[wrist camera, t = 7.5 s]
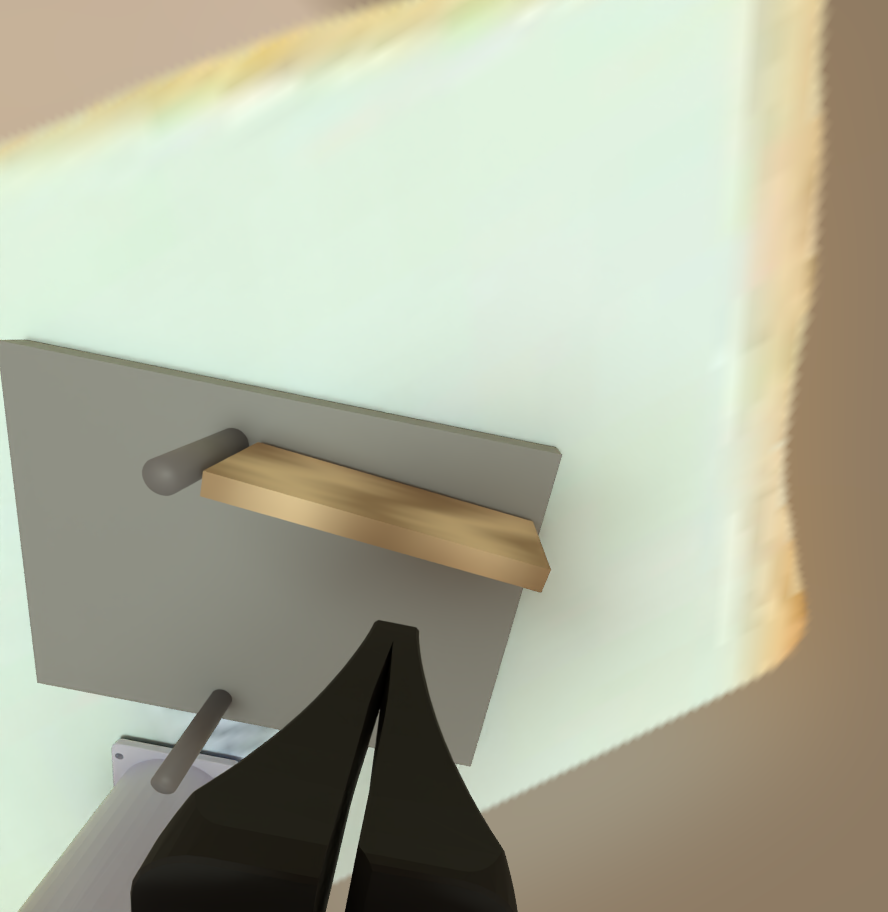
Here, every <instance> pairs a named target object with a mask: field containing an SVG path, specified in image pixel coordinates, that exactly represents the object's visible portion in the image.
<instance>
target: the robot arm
mask: <svg viewBox="0 0 888 912" xmlns="http://www.w3.org/2000/svg"><path fill="white" fill-rule="evenodd" d="M379 710H380V712H379ZM378 714H379V720H378V728H377V735H376V743H375V751H374V759H373V766H372V774H371V782H370V790H369V795H368V800H367V805H366V810H365V815H364V819H363V824H362V829H361V834H360V839H359V843H358V848H357V853H356V858H355V863H354V868H353V873H352V878H351V883H350V889H349V894H348V898H347V903H346V909H345V912H518V911H517V905H516V899H515V894H514V889H513V884H512V879H511V875H510V871H509V867H508V863H507V859H506V856H505V852H504V850H503V848H502V847H501V845H500V844H499V842H498V841H497V839H496V838H495V836H494V834H493V833H492V831H491V830H490V828H489V826H488V825H487V823H486V822H485V820H484V818H483V816H482V815H481V813H480V811H479V809H478V808H477V806H476V804H475V802H474V800H473V799H472V797H471V795H470V793H469V791H468V789H467V787H466V785H465V783H464V781H463V779H462V777H461V775H460V773H459V771H458V769H457V767H456V765H455V763H454V761H453V759H452V756H451V754H450V752H449V749H448V747H447V744H446V742H445V739H444V737H443V734H442V732H441V729H440V726H439V724H438V721H437V718H436V715H435V712H434V708H433V705H432V702H431V698H430V695H429V691H428V687H427V683H426V679H425V674H424V670H423V665H422V659H421V653H420V644H419V630H418V629H417V627H413V626H408V625H403V624H397V623H392V622H387V621H382V620H377V621H375V622H374V624H373V626H372V628H371V629H370V631H369V633H368V634H367V636H366V638H365V639H364V641H363V642H362V644H361V645H360V646H359V648H358V649H357V651H356V652H355V653H354V654H353V656H352V657H351V658H350V660H349V661H348V662H347V663H346V665H345V666H344V667H343V668H342V670H341V671H340V672H339V673H338V674H337V675H336V677H335V678H334V679H333V680H332V681H331V682H330V683H329V684H328V686H327V687H326V688H325V689H324V690H323V691H322V692H321V693H320V694H319V695H318V696H317V697H316V698H315V699H314V700H313V701H312V702H311V703H310V704H309V705H308V706H307V707H306V708H305V709H304V710H303V711H302V712H301V713H300V714H299V715H297V716H296V717H295V718H294V719H293V720H292V721H291V722H289V723H288V724H287V725H286V726H285V727H284V728H283V729H281V730H280V731H279V732H278V733H277V734H275V735H274V736H273V737H272V738H270V739H269V740H268V741H266V742H265V743H264V744H262V745H261V746H260V747H258V748H257V749H256V750H254V751H253V752H252V753H250V754H249V755H248V756H246V757H245V758H244V759H242V760H241V761H240V762H238V761H236V760H231V759H226V758H220V757H215V756H210V755H205V754H200V753H199V755H198V756H197V758H196V759H195V761H194V763H193V764H192V766H191V767H190V769H189V770H188V772H187V774H186V775H185V777H184V778H183V780H182V782H181V783H180V785H179V786H178V788H177V789H176V791H175V792H174V793H172V794H162V793H159V792H157V791H156V790H155V789H154V788H153V787H152V786H151V779H152V777H153V776H154V774H155V773H156V772H157V770H158V769H159V767H160V766H161V764H162V763H163V762H164V760H165V759H166V757H167V756H168V754H169V753H170V752H171V750H172V749H173V748H168V747H163V746H158V745H153V744H148V743H142V742H137V741H132V740H127V739H119V740H117V741H116V742H115V743H114V744H113V746H112V763H113V782H114V788H113V789H112V790H111V792H110V793H109V794H108V795H107V797H106V798H105V799H104V801H103V802H102V803H101V805H100V806H99V807H98V808H97V810H96V811H95V812H94V814H93V815H92V816H91V817H90V819H89V820H88V821H87V823H86V824H85V825H84V827H83V828H82V829H81V830H80V832H79V833H78V834H77V836H76V837H75V838H74V839H73V841H72V842H71V843H70V845H69V846H68V847H67V849H66V850H65V851H64V852H63V854H62V855H61V856H60V858H59V859H58V860H57V861H56V863H55V864H54V865H53V867H52V868H51V869H50V871H49V872H48V873H47V874H46V876H45V877H44V878H43V880H42V881H41V882H40V884H39V885H38V886H37V887H36V889H35V890H34V891H33V893H32V894H31V895H30V896H29V898H28V899H27V900H26V902H25V903H24V904H23V906H22V907H21V908H20V909H19V911H18V912H326V908H327V903H328V899H329V895H330V891H331V886H332V882H333V878H334V873H335V869H336V865H337V860H338V856H339V852H340V848H341V843H342V839H343V835H344V830H345V826H346V822H347V818H348V813H349V809H350V805H351V801H352V798H353V794H354V791H355V787H356V784H357V781H358V778H359V774H360V771H361V768H362V765H363V762H364V758H365V755H366V752H367V749H368V746H369V742H370V739H371V736H372V733H373V730H374V727H375V723H376V720H377V717H378Z"/></svg>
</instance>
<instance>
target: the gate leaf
mask: <svg viewBox="0 0 888 912" xmlns="http://www.w3.org/2000/svg"><path fill="white" fill-rule="evenodd" d="M200 496H201V497H205V498H208V499H212V500H215V501H219V502H222V503H226V504H229V505H233V506H236V507H240V508H243V509H247V510H251V511H254V512H258V513H261V514H265V515H268V516H272V517H275V518H279V519H282V520H286V521H289V522H293V523H297V524H300V525H304V526H307V527H311V528H314V529H318V530H321V531H325V532H328V533H332V534H335V535H339V536H343V537H346V538H350V539H353V540H357V541H360V542H364V543H367V544H371V545H374V546H378V547H381V548H385V549H389V550H392V551H396V552H399V553H403V554H406V555H410V556H413V557H417V558H420V559H424V560H427V561H431V562H435V563H438V564H442V565H445V566H449V567H452V568H456V569H459V570H463V571H466V572H470V573H473V574H477V575H481V576H484V577H488V578H491V579H495V580H498V581H502V582H505V583H509V584H512V585H516V586H519V587H523V588H527V589H530V590H534V591H537V592H542V589H543V587H544V585H545V582H546V580H547V578H548V575H549V573H550V571H551V569H550V566H549V564H548V561H547V558H546V556H545V553H544V550H543V547H542V545H541V542H540V539H539V537H538V534H537V531H536V528H535V526H534V523H533V521H530V520H526V519H523V518H519V517H516V516H512V515H509V514H505V513H502V512H499V511H495V510H492V509H488V508H485V507H481V506H478V505H474V504H471V503H467V502H464V501H460V500H457V499H454V498H450V497H447V496H443V495H440V494H436V493H433V492H429V491H426V490H422V489H419V488H415V487H412V486H409V485H405V484H402V483H398V482H395V481H391V480H388V479H384V478H381V477H377V476H374V475H371V474H367V473H364V472H360V471H357V470H353V469H350V468H346V467H343V466H339V465H336V464H332V463H329V462H326V461H322V460H319V459H315V458H312V457H308V456H305V455H301V454H298V453H294V452H291V451H288V450H284V449H281V448H277V447H274V446H270V445H267V444H263V443H260V442H257V443H255V444H253V445H251V446H249V447H248V448H246V449H244V450H242V451H240V452H238V453H236V454H234V455H232V456H230V457H228V458H227V459H225V460H223V461H221V462H219V463H217V464H215V465H213V466H211V467H209V468H207V469H206V470H204V471H203V476H202V484H201V492H200Z"/></svg>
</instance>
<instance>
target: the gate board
mask: <svg viewBox="0 0 888 912" xmlns="http://www.w3.org/2000/svg"><path fill="white" fill-rule="evenodd" d="M0 372H1V381H2V389H3V397H4V406H5V414H6V423H7V431H8V440H9V448H10V456H11V465H12V473H13V482H14V490H15V499H16V507H17V515H18V524H19V532H20V541H21V549H22V557H23V566H24V574H25V583H26V591H27V600H28V608H29V616H30V625H31V633H32V642H33V650H34V658H35V667H36V675H37V683H42V684H47V685H52V686H57V687H62V688H67V689H73V690H78V691H83V692H88V693H93V694H98V695H104V696H109V697H114V698H119V699H124V700H130V701H135V702H140V703H145V704H150V705H155V706H161V707H166V708H171V709H176V710H181V711H186V712H192V713H197V715H196V716H195V717H194V719H193V720H192V722H191V723H190V725H189V726H188V727H187V729H186V730H185V732H184V733H183V735H182V736H181V737H180V739H179V740H178V742H177V743H176V744H175V746H174V747H173V749H172V750H171V752H170V753H169V754H168V756H167V757H166V759H165V760H164V762H163V763H162V764H161V766H160V767H159V769H158V770H157V772H156V773H155V774H154V776H153V777H152V779H151V786H152V787H153V788H154V789H155V790H156V791H157V792H159V793H162V794H172V793H174V792H175V791H176V789H177V788H178V786H179V785H180V783H181V782H182V780H183V778H184V777H185V775H186V774H187V772H188V770H189V769H190V767H191V766H192V764H193V763H194V761H195V759H196V758H197V756H198V755H199V753H200V751H201V750H202V748H203V747H204V745H205V744H206V742H207V740H208V739H209V737H210V736H211V734H212V732H213V731H214V729H215V728H216V726H217V725H218V723H219V721H220V720H221V718H223V719H228V720H233V721H238V722H243V723H248V724H254V725H259V726H264V727H269V728H274V729H279V730H281V729H283V728H284V727H285V726H286V725H287V724H288V723H289V722H291V721H292V720H293V719H294V718H295V717H296V716H297V715H299V714H300V713H301V712H302V711H303V710H304V709H305V708H306V707H307V706H308V705H309V704H310V703H311V702H312V701H313V700H314V699H315V698H316V697H317V696H318V695H319V694H320V693H321V692H322V691H323V690H324V689H325V688H326V687H327V686H328V684H329V683H330V682H331V681H332V680H333V679H334V678H335V677H336V675H337V674H338V673H339V672H340V671H341V670H342V668H343V667H344V666H345V665H346V663H347V662H348V661H349V660H350V658H351V657H352V656H353V654H354V653H355V652H356V651H357V649H358V648H359V646H360V645H361V644H362V642H363V641H364V639H365V638H366V636H367V634H368V633H369V631H370V629H371V628H372V626H373V624H374V622H375V621H377V620H382V621H387V622H392V623H397V624H403V625H408V626H413V627H417V629H418V630H419V644H420V653H421V659H422V665H423V670H424V674H425V679H426V683H427V687H428V691H429V695H430V698H431V702H432V705H433V708H434V712H435V715H436V718H437V721H438V724H439V726H440V729H441V732H442V734H443V737H444V739H445V742H446V744H447V747H448V749H449V752H450V754H451V756H452V759H453V761H454V763H455V764H460V765H465V766H471V763H472V760H473V756H474V753H475V750H476V746H477V743H478V739H479V736H480V733H481V729H482V726H483V722H484V719H485V715H486V712H487V709H488V705H489V702H490V698H491V695H492V692H493V688H494V685H495V681H496V678H497V675H498V671H499V668H500V664H501V661H502V658H503V654H504V651H505V647H506V644H507V641H508V637H509V634H510V630H511V627H512V624H513V620H514V617H515V613H516V610H517V607H518V603H519V600H520V596H521V593H522V590H523V587H519V586H516V585H512V584H509V583H505V582H502V581H498V580H495V579H491V578H488V577H484V576H481V575H477V574H473V573H470V572H466V571H463V570H459V569H456V568H452V567H449V566H445V565H442V564H438V563H435V562H431V561H427V560H424V559H420V558H417V557H413V556H410V555H406V554H403V553H399V552H396V551H392V550H389V549H385V548H381V547H378V546H374V545H371V544H367V543H364V542H360V541H357V540H353V539H350V538H346V537H343V536H339V535H335V534H332V533H328V532H325V531H321V530H318V529H314V528H311V527H307V526H304V525H300V524H297V523H293V522H289V521H286V520H282V519H279V518H275V517H272V516H268V515H265V514H261V513H258V512H254V511H251V510H247V509H243V508H240V507H236V506H233V505H229V504H226V503H222V502H219V501H215V500H212V499H208V498H205V497H201V496H200V492H201V484H202V476H203V471H204V470H206V469H207V468H209V467H211V466H213V465H215V464H217V463H219V462H221V461H223V460H225V459H227V458H228V457H230V456H232V455H234V454H236V453H238V452H240V451H242V450H244V449H246V448H248V447H249V446H251V445H253V444H255V443H257V442H260V443H263V444H267V445H270V446H274V447H277V448H281V449H284V450H288V451H291V452H294V453H298V454H301V455H305V456H308V457H312V458H315V459H319V460H322V461H326V462H329V463H332V464H336V465H339V466H343V467H346V468H350V469H353V470H357V471H360V472H364V473H367V474H371V475H374V476H377V477H381V478H384V479H388V480H391V481H395V482H398V483H402V484H405V485H409V486H412V487H415V488H419V489H422V490H426V491H429V492H433V493H436V494H440V495H443V496H447V497H450V498H454V499H457V500H460V501H464V502H467V503H471V504H474V505H478V506H481V507H485V508H488V509H492V510H495V511H499V512H502V513H505V514H509V515H512V516H516V517H519V518H523V519H526V520H530V521H533V523H534V526H535V528H536V531H537V534H538V535H539V532H540V528H541V525H542V521H543V518H544V515H545V511H546V508H547V504H548V501H549V498H550V494H551V491H552V487H553V484H554V481H555V477H556V474H557V470H558V467H559V464H560V460H561V457H562V454H561V453H560V451H559V450H558V449H557V448H556V447H551V446H547V445H542V444H537V443H532V442H527V441H522V440H517V439H512V438H507V437H502V436H497V435H492V434H487V433H482V432H478V431H473V430H468V429H463V428H458V427H453V426H448V425H443V424H438V423H433V422H428V421H423V420H418V419H414V418H409V417H404V416H399V415H394V414H389V413H384V412H379V411H374V410H369V409H364V408H359V407H354V406H349V405H345V404H340V403H335V402H330V401H325V400H320V399H315V398H310V397H305V396H300V395H295V394H290V393H285V392H281V391H276V390H271V389H266V388H261V387H256V386H251V385H246V384H241V383H236V382H231V381H226V380H221V379H216V378H212V377H207V376H202V375H197V374H192V373H187V372H182V371H177V370H172V369H167V368H162V367H157V366H152V365H147V364H143V363H138V362H133V361H128V360H123V359H118V358H113V357H108V356H103V355H98V354H93V353H88V352H83V351H79V350H74V349H69V348H64V347H59V346H54V345H49V344H44V343H39V342H34V341H29V340H0ZM379 712H380V710H379ZM378 720H379V714H378V717H377V720H376V723H375V727H374V730H373V733H372V736H371V739H370V742H369V746H368V747H372V748H375V743H376V735H377V728H378Z"/></svg>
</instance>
